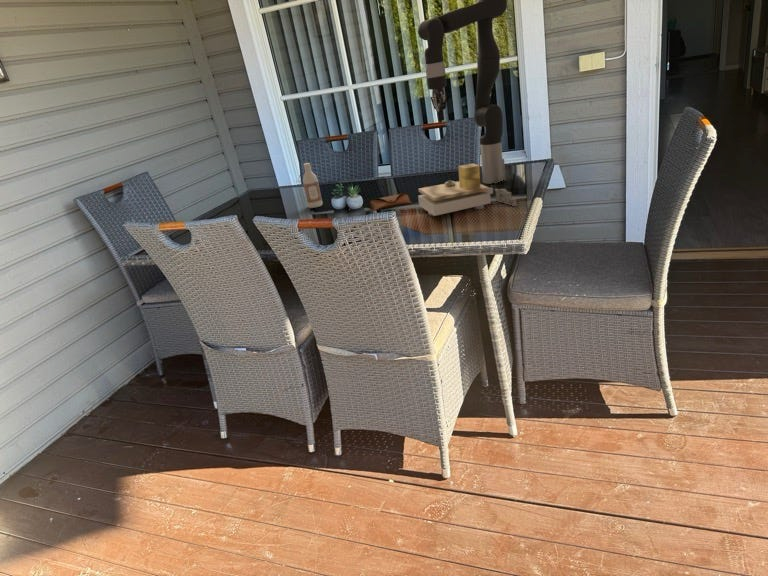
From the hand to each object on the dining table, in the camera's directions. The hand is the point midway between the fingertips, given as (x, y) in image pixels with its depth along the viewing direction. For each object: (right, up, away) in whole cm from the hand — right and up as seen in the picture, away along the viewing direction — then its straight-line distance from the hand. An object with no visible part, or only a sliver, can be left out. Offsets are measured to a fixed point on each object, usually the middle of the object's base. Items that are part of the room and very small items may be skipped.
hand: (441, 120), depth 210 cm
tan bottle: (-56, -30, +32) cm, 71 cm away
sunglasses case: (-20, -33, +13) cm, 41 cm away
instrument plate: (+4, -31, -10) cm, 33 cm away
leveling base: (+4, -37, -7) cm, 38 cm away
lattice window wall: (+24, -36, -11) cm, 45 cm away
